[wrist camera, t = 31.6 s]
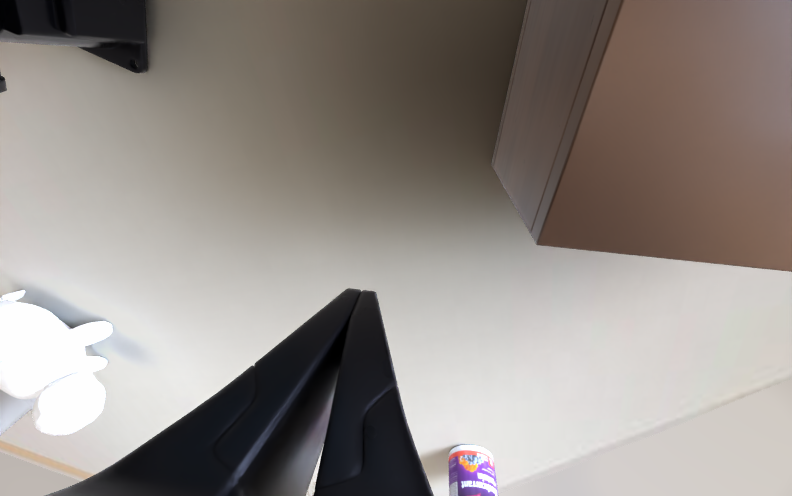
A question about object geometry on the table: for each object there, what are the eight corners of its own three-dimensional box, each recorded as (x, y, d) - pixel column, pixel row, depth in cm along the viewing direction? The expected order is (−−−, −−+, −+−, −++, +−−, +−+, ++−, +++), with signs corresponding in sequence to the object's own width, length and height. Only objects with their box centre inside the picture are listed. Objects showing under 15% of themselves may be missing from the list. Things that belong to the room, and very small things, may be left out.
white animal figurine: (65, 314, 37) (139, 404, 35) (-52, 355, 30) (34, 471, 28) (65, 270, 33) (150, 368, 31) (-71, 304, 25) (29, 437, 24)
